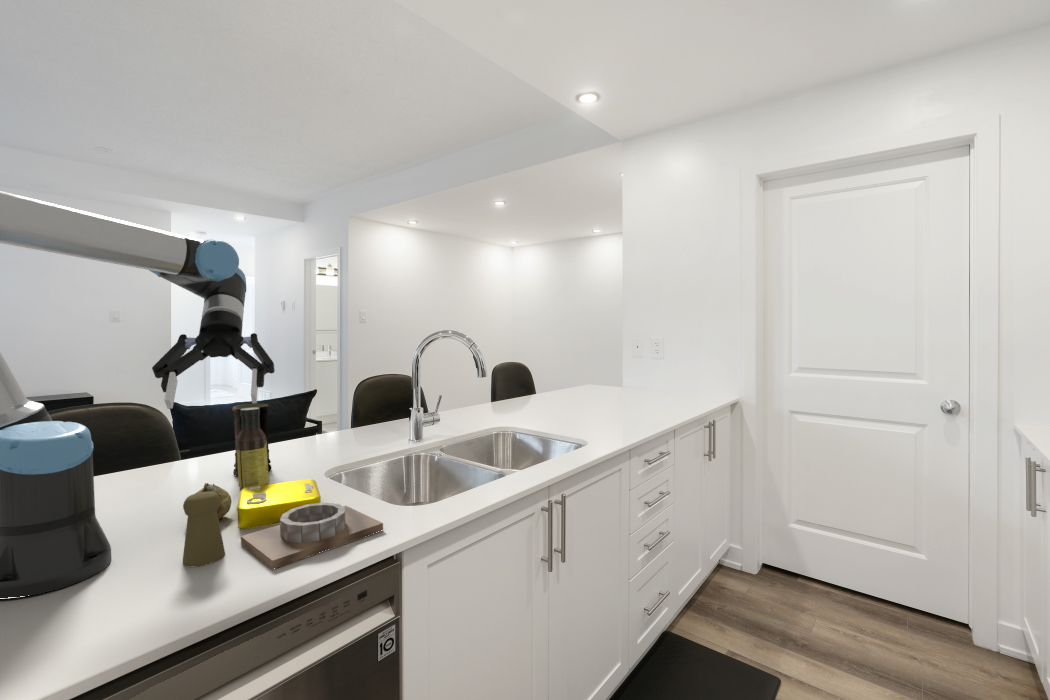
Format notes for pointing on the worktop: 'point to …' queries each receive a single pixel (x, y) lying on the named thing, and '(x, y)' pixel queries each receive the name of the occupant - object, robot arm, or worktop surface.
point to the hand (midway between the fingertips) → (212, 401)
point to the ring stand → (309, 533)
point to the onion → (224, 498)
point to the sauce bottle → (252, 451)
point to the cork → (202, 530)
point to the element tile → (274, 501)
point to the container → (238, 427)
